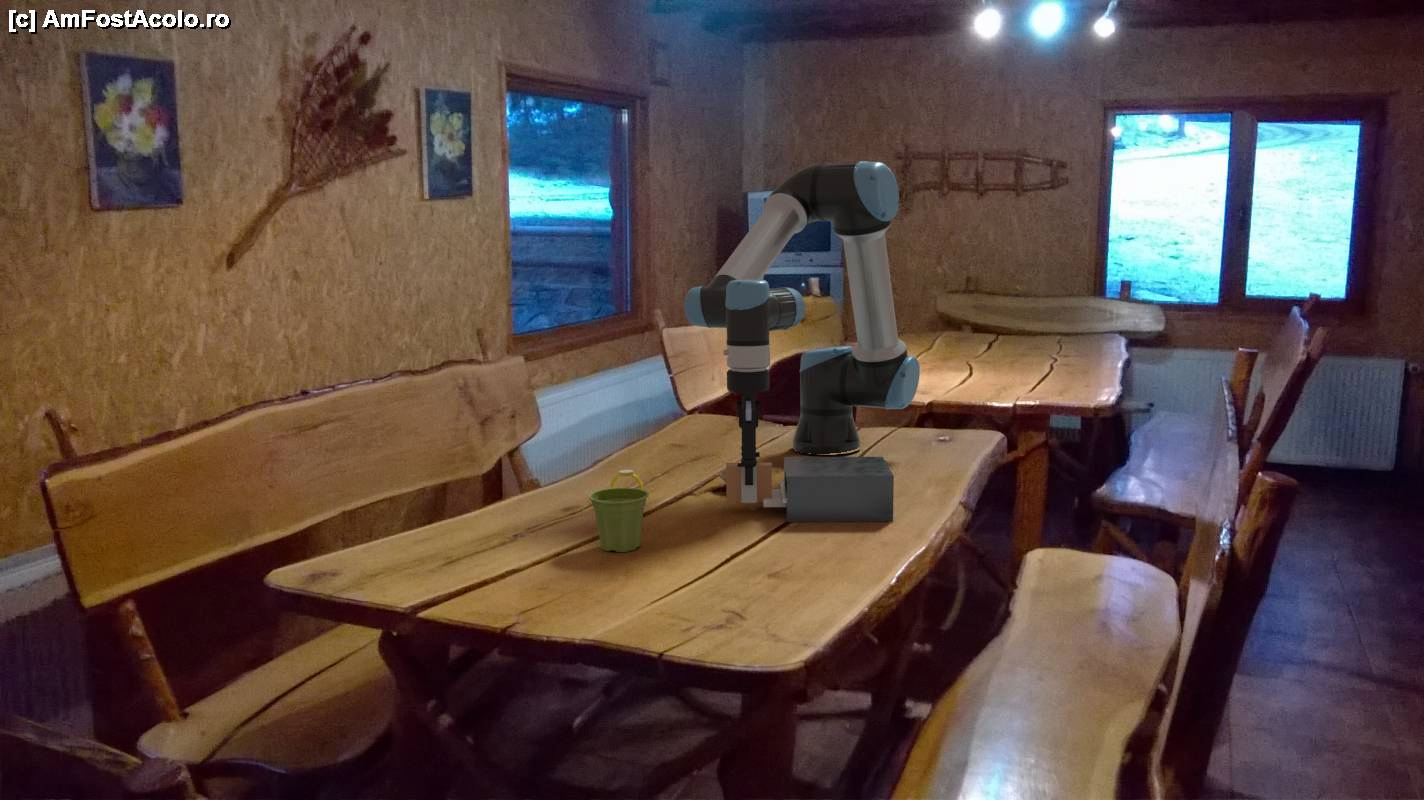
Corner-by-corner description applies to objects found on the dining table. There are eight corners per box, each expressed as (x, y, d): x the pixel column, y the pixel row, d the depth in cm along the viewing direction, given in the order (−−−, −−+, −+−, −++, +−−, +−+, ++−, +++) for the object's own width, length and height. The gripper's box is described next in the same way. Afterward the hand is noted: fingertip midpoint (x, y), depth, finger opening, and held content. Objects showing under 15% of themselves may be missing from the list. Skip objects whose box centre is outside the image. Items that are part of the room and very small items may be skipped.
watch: (610, 504, 208) (607, 473, 207) (615, 501, 210) (612, 469, 210) (641, 504, 206) (638, 472, 205) (646, 500, 209) (643, 469, 208)
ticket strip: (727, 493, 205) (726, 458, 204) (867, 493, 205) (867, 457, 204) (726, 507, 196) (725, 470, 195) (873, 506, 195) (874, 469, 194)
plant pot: (603, 559, 172) (602, 504, 171) (581, 544, 181) (580, 491, 179) (659, 550, 177) (658, 496, 175) (635, 536, 185) (634, 484, 183)
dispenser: (780, 499, 208) (779, 457, 207) (882, 499, 208) (882, 456, 206) (782, 522, 193) (782, 476, 191) (893, 521, 192) (893, 475, 191)
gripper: (727, 362, 206) (728, 486, 210) (725, 375, 188) (727, 511, 191) (768, 362, 206) (769, 486, 209) (770, 375, 187) (771, 511, 191)
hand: (749, 497), depth 200 cm, fingers open, 6 cm apart
